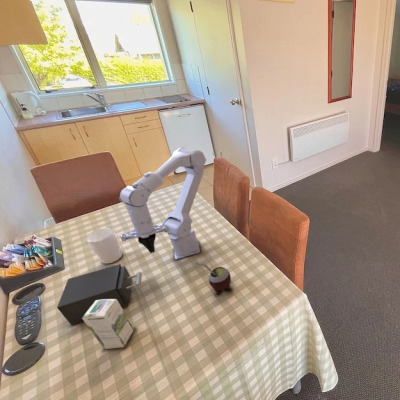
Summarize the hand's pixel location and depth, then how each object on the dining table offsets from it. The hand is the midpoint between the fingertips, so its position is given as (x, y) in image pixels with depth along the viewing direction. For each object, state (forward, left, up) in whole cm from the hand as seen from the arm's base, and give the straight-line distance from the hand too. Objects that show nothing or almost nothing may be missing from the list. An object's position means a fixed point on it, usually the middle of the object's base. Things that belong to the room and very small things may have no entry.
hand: (152, 251), depth 98 cm
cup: (+18, -17, -10) cm, 26 cm away
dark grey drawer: (+14, +7, -9) cm, 18 cm away
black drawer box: (+18, +7, -10) cm, 21 cm away
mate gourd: (-19, +21, -10) cm, 30 cm away
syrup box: (+11, +26, -10) cm, 30 cm away
